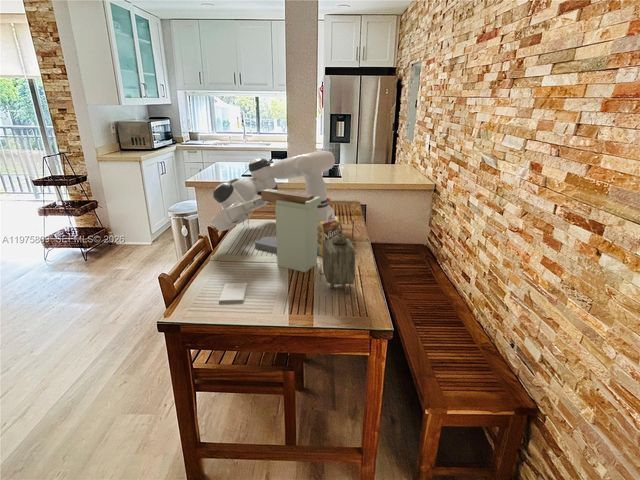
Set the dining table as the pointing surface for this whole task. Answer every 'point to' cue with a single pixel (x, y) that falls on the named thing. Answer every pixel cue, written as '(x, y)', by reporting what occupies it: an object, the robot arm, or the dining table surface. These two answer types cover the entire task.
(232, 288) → the external hard drive
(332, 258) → the grey-green rolling suitcase
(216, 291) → the dining table surface
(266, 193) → the slim box
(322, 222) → the candy box
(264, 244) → the grey board
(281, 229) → the shelf block
